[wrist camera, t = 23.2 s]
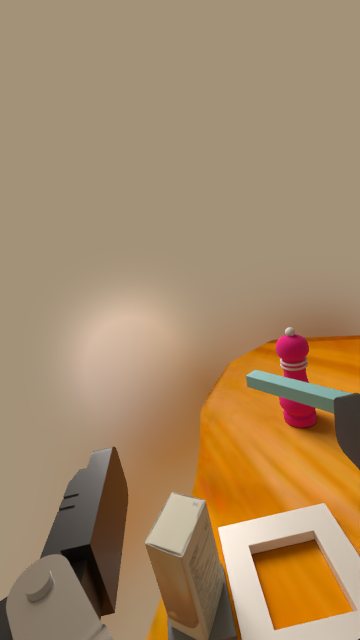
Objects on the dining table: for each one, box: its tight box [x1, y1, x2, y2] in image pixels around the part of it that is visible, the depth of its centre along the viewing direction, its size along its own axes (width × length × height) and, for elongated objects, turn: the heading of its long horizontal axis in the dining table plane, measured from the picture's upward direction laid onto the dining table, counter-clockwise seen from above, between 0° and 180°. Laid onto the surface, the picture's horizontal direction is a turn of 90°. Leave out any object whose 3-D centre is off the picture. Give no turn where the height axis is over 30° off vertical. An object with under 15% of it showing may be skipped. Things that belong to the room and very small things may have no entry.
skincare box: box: [145, 493, 224, 640], centre depth 31 cm, size 6×4×12 cm
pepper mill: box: [276, 328, 317, 428], centre depth 58 cm, size 7×7×20 cm
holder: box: [218, 503, 360, 640], centre depth 31 cm, size 24×15×17 cm, turn 94°
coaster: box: [168, 564, 237, 640], centre depth 33 cm, size 7×7×1 cm
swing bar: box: [246, 370, 351, 413], centre depth 36 cm, size 21×3×2 cm, turn 39°
